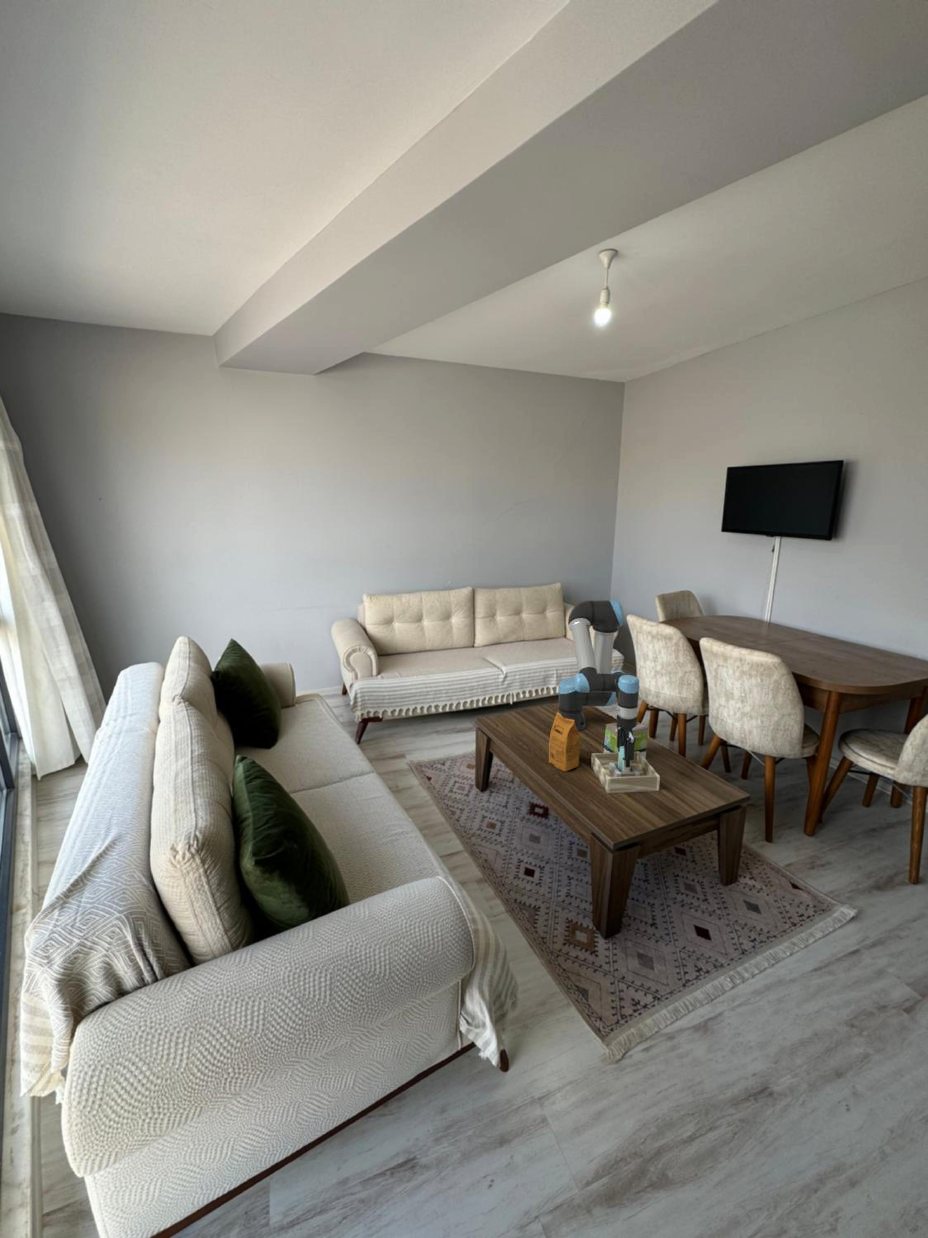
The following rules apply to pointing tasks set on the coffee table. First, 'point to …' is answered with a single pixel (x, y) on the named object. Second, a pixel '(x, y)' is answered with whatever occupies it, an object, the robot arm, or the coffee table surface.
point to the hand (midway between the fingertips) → (623, 770)
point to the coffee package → (564, 744)
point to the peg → (621, 758)
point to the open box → (624, 773)
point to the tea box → (638, 732)
